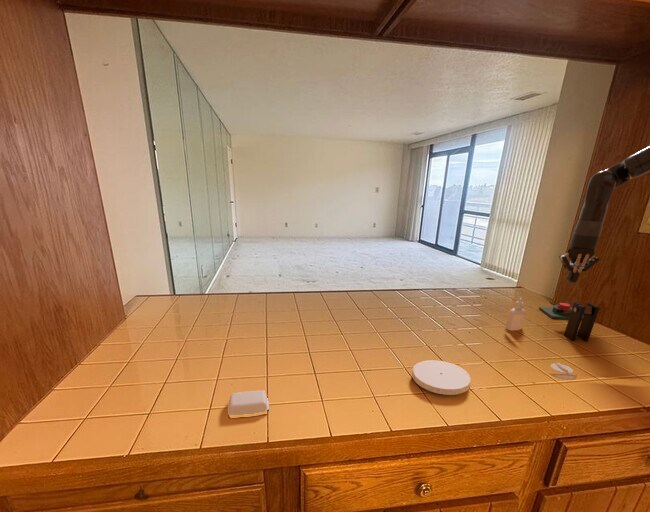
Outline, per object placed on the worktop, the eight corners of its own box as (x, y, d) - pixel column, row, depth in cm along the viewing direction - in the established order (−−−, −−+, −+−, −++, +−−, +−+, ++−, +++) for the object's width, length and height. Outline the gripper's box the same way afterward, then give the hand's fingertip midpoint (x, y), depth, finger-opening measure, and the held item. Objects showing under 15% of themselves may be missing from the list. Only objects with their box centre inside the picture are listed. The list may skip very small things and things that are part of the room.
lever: (554, 314, 119) (554, 307, 119) (569, 315, 119) (569, 308, 119) (579, 313, 106) (579, 305, 106) (596, 314, 106) (596, 306, 106)
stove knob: (565, 366, 97) (567, 359, 96) (583, 380, 90) (585, 373, 90) (539, 365, 97) (541, 359, 96) (555, 379, 90) (557, 373, 89)
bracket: (553, 334, 117) (564, 298, 112) (578, 336, 116) (590, 300, 111) (570, 348, 107) (582, 309, 103) (597, 349, 107) (611, 311, 102)
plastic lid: (431, 362, 97) (432, 355, 96) (479, 384, 88) (481, 375, 87) (400, 380, 89) (401, 371, 88) (450, 405, 79) (452, 396, 78)
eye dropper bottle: (523, 334, 116) (532, 301, 111) (505, 333, 117) (513, 299, 112) (519, 329, 120) (527, 296, 115) (501, 328, 121) (509, 295, 116)
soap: (268, 396, 81) (267, 386, 80) (270, 415, 75) (269, 403, 74) (228, 400, 79) (227, 390, 78) (227, 420, 73) (225, 408, 72)
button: (565, 307, 132) (567, 302, 131) (571, 310, 128) (572, 306, 128) (555, 306, 132) (557, 302, 131) (561, 310, 128) (562, 305, 128)
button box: (569, 313, 136) (572, 304, 134) (585, 323, 126) (588, 313, 125) (538, 312, 136) (540, 302, 135) (550, 321, 127) (553, 311, 126)
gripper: (572, 234, 116) (558, 284, 123) (614, 236, 115) (597, 285, 122) (560, 231, 123) (547, 278, 130) (600, 232, 122) (584, 280, 129)
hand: (571, 281), depth 126 cm, fingers closed
